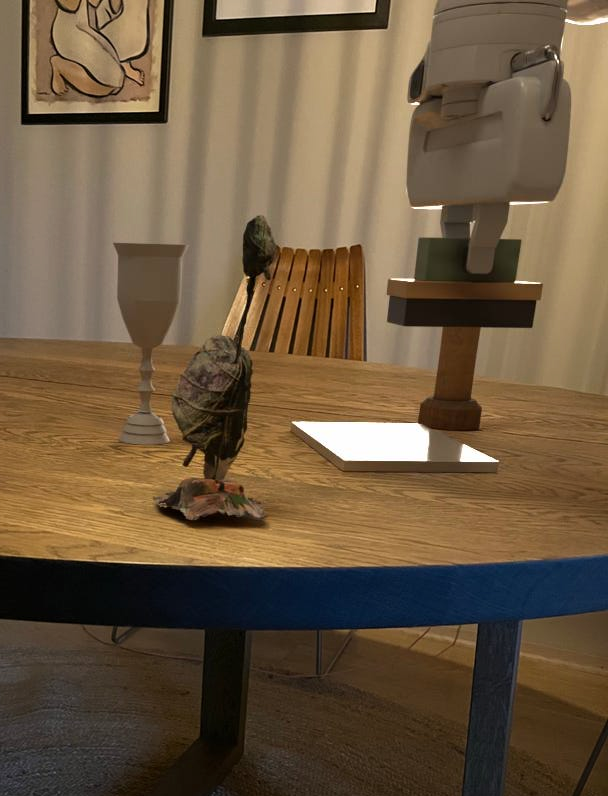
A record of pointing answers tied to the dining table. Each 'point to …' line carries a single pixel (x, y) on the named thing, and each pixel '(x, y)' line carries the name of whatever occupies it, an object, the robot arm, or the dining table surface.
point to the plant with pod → (220, 403)
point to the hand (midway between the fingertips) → (465, 272)
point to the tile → (391, 448)
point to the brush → (462, 289)
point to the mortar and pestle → (454, 383)
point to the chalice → (148, 320)
